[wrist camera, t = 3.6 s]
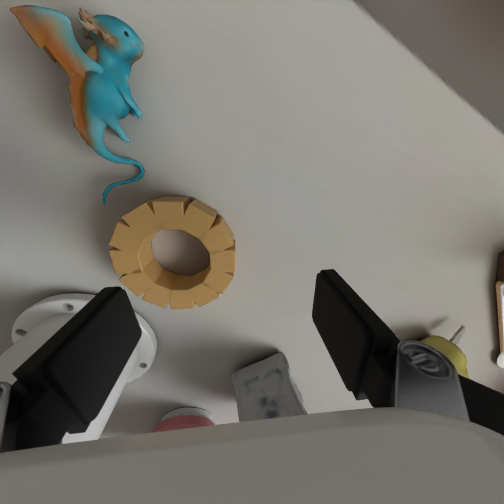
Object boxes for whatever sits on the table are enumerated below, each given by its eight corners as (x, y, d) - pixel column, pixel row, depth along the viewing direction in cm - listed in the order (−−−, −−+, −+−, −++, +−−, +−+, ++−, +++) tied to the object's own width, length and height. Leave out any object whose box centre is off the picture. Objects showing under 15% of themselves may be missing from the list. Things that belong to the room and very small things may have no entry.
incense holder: (306, 388, 27) (346, 506, 18) (251, 403, 27) (262, 528, 18) (295, 344, 23) (339, 466, 14) (230, 362, 23) (230, 495, 14)
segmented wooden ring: (172, 306, 19) (165, 324, 17) (101, 231, 15) (79, 241, 13) (252, 265, 18) (255, 279, 16) (196, 174, 14) (190, 175, 12)
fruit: (464, 328, 25) (415, 382, 27) (427, 305, 25) (380, 360, 27) (523, 359, 19) (456, 425, 21) (474, 329, 19) (411, 397, 21)
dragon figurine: (210, 171, 13) (136, -24, 7) (108, 224, 11) (-103, 19, 5) (180, 152, 17) (117, 17, 11) (101, 189, 15) (-24, 50, 10)
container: (233, 406, 27) (234, 493, 20) (209, 442, 31) (202, 527, 24) (159, 396, 25) (128, 492, 17) (142, 437, 28) (111, 530, 21)
